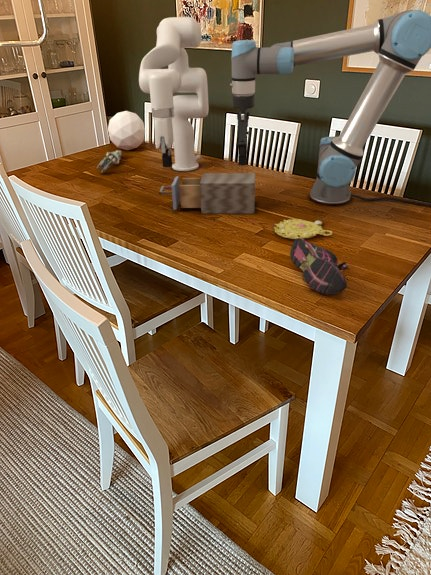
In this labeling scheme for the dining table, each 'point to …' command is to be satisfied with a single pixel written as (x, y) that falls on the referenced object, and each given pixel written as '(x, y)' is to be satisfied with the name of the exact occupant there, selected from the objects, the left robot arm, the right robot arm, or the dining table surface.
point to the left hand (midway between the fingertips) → (167, 166)
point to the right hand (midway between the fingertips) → (242, 159)
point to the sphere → (126, 130)
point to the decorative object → (300, 229)
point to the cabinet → (227, 193)
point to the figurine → (110, 160)
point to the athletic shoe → (318, 267)
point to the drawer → (185, 192)
